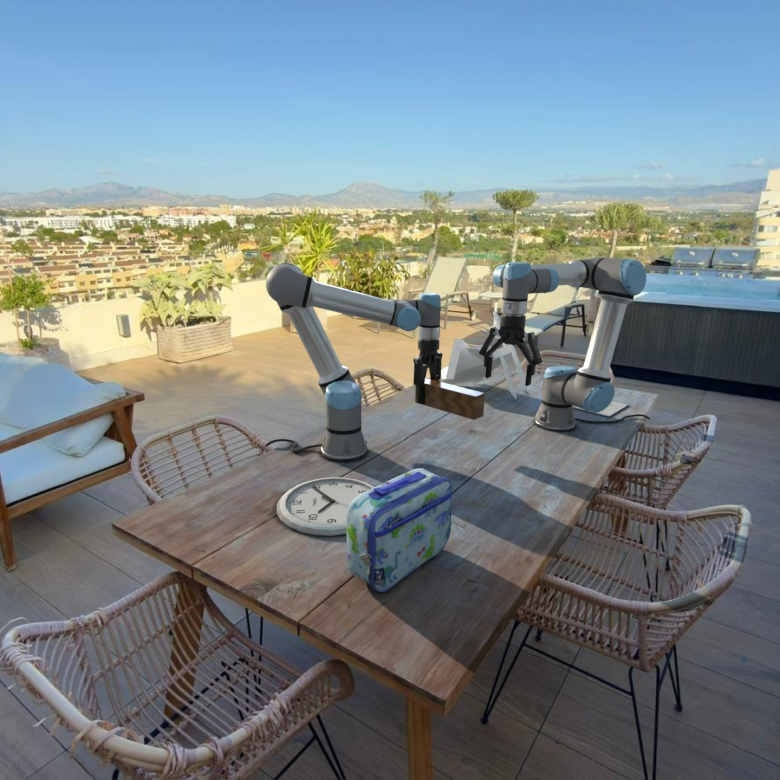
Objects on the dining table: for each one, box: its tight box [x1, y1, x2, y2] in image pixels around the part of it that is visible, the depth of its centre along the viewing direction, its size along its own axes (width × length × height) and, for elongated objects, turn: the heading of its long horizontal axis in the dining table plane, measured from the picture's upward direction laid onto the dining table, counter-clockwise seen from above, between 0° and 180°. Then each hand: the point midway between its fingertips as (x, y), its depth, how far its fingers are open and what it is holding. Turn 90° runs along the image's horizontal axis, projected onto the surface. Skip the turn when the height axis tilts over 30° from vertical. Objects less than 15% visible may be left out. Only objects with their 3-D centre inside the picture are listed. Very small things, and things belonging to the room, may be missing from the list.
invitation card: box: [573, 400, 629, 418], centre depth 226 cm, size 21×1×15 cm
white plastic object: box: [440, 310, 531, 400], centre depth 245 cm, size 37×45×31 cm
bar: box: [414, 377, 486, 421], centre depth 182 cm, size 26×5×8 cm, turn 47°
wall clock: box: [276, 476, 376, 537], centre depth 142 cm, size 30×2×30 cm
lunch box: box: [345, 467, 453, 593], centre depth 115 cm, size 26×11×21 cm, turn 135°
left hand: (426, 401), depth 189 cm, fingers closed on bar, 5 cm apart
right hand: (507, 381), depth 166 cm, fingers open, 13 cm apart
